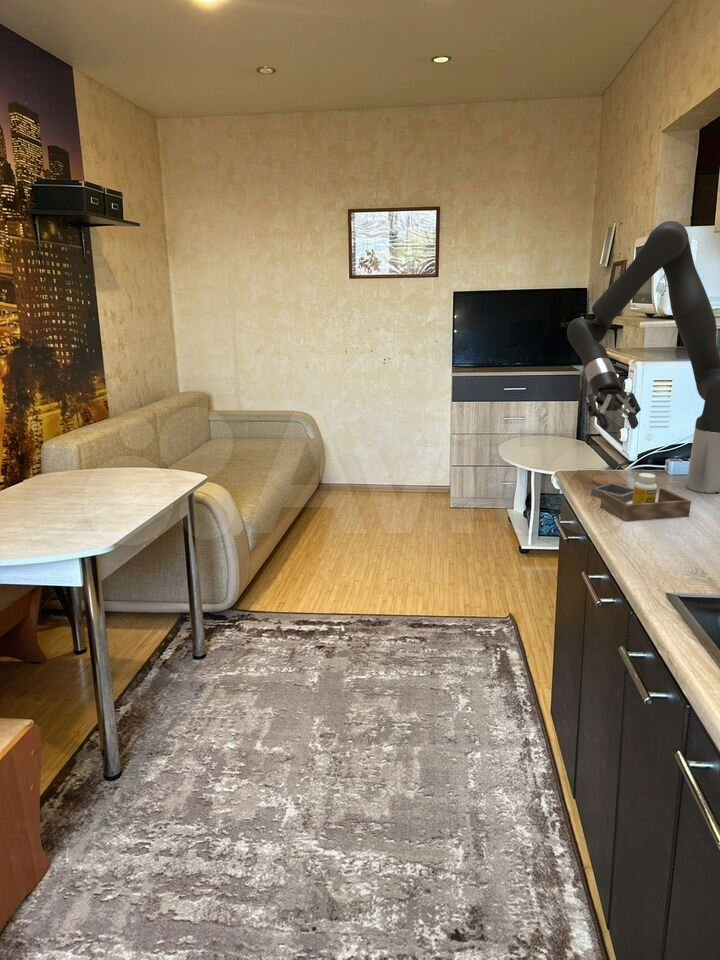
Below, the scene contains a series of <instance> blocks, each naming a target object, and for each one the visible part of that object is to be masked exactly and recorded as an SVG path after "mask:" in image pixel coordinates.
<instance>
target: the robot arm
mask: <svg viewBox="0 0 720 960" xmlns="http://www.w3.org/2000/svg"><path fill="white" fill-rule="evenodd" d="M661 269H662V270H663V272H664V275H665V278H666V281H667V282H666V283H667V289H668V298H669V303H670V309H671V314H672V317H673V320H674V322H675V325H676V328H677V331H678V333H679V336H680V338H681V341H682V344H683V346H684V348H685V351H686V354H687V355H688V358H689V360H690V365H691V369H692V373H693V376H694V377H693V378H694V381H695V382H694V383H695V386H696V390H697V394H698V395H699V396H700V398H701V399H702V400H704V404H703V409H702V413H701V414H700V416H698V417H697V418H696V421H695V426H694V431H693V438H692V443H691V444H692V445H691V453H690V457H689V464H688V465H689V466H688V472H687V477H686V483H685V484H686V485H685V487H686V488H687V489H689V490H692V491H695V492H698V493H704V492H705V493H704V494H716V493H715V492H719V493H720V354H719V350H718V345H717V343H718V342H717V340H718V339H717V333H718V331H717V329H718V328H717V321H716V316H715V313H714V310H713V308H712V304H711V302H710V300H709V297H708V294H707V291H706V290H705V287H704V284H703V281H702V279H701V277H700V275H699V273H698V271H697V267H696V265H695V261H694V257H693V254H692V249H691V244H690V239H689V234H688V231H687V229H686V228H685V226H684V225H683V224H682V223H680V222H678V221H674V220H667V221H664V222H662V223H660V224H659V225H658V226H656V227H655V228H653V230H652V231H651V232H650V233H649V234H648V236H647V239H646V241H645V243H644V244H643V245H642V247H641V249H640V251H639V252H638V254H637V255H636V257H635V258H634V259H633V261H632V262H631V263H630V264H629V266H627V268H626V269H625V270H624V271H623V272H622V273H621V274H620V275H619V276H618V277H617V278H616V279H615V280H614V281H613V282H612V283H611V285H610V286H608V288H606V290H605V291H603V293H602V294H601V296H600V297H599V298H597V300H596V301H595V302H594V303H593V305H592V307H591V312H592V314H593V315H594V316H595V318H594V319H593V320H589V319H586V318H583V317H578V318H577V317H576V318H574V319H572V320H571V321H570V322H569V324H568V326H567V329H566V335H567V340H568V342H569V343H570V345H571V346H572V348H573V349H574V351H575V352H576V354H577V355H578V356H579V358H580V360H581V362H582V365H583V368H584V371H585V375H586V379H587V382H588V385H589V388H590V390H591V393H589V394H588V395H587V396H586V397H585V399H584V402H585V406H586V409H587V412H588V415H589V417H594V418H596V419H597V421H598V423H599V426H600V428H601V429H602V430H605V431H606V430H607V429H608V428H610V423H609V420H608V417H607V415H606V414H605V412H606V411H607V412H610V411H612V412H613V411H614V412H615V411H616V412H618V413H620V414H624V415H625V416H626V417H627V421H628V424H629V426H630V429H632V430H635V429H636V428H637V427H638V426H639V420H638V418H637V415H638V414H639V412H640V411H641V410H642V409H641V407H640V404H639V402H638V400H637V398H636V396H635V394H634V392H630V393H629V394H624V393H623V392H622V384H621V382H620V379H619V377H618V375H617V372H616V370H615V367H614V365H613V363H612V362H611V360H610V357H609V354H608V352H607V350H606V347H605V346H604V345H603V344H601V341H603V340H604V338H606V337H605V336H606V335H607V333H608V330H609V329H610V327H611V325H612V323H613V321H614V320H615V318H616V317H617V316H618V315H620V313H622V311H623V310H624V309H625V308H626V307H627V305H629V303H631V301H632V300H633V299H634V297H635V296H636V294H638V293H639V291H640V289H641V288H642V287H643V286H644V285H645V284H646V283H647V281H649V280H650V279H651V278H652V277H653V276H654V275H655V274H656V273H657V272H659V271H660V270H661ZM597 404H598V405H599V407H597Z"/></svg>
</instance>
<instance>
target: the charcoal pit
mask: <svg viewBox="0 0 720 960" xmlns="http://www.w3.org/2000/svg"><path fill="white" fill-rule="evenodd" d="M602 492H606V493H608V494H610V495H612V496H614V497H616V498H618V499H619V500H621V501H623V502H625V503H627V502H630V501H631V502H632V501H633V494H634V488H632V487H628V486H621V485H617V484H613V483H608V484H605V485H601V486H599V485H597V486H596V487H592V488H591V492H590V493H591V494H590V496H593V497H595V496H596V498H598V497H599V498H600V499H601V496H602Z"/></svg>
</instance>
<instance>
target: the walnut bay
mask: <svg viewBox="0 0 720 960" xmlns="http://www.w3.org/2000/svg"><path fill="white" fill-rule="evenodd" d="M658 490H659V491H658V498H657V501H655V502H652V503H638V504H632V503H627V502H623V501H621V500H619V499H618V498H616V497H614V496H612V495H610V494H608V493H606V492H602V496H601V498H600V505H599V507H600V508H601V507H602V508H601V509H603V508H604V509H603V510H605V509H606V510H607V511H606V510H605V511H606V512H608V511H609V512H608V513H609V514H612V515H613V514H614V516H615V517H617V518H619V519H620V520H622V521H624V522H632V521H646V520H656V519H657V520H658V519H672V518H684V517H690V512H691V507H692V506H691V505H692V500H690V499H687V498H685V497H683V496H681V495H679V494H677V493H674V492H672V491H671V490H668V489H666V488H663V487H661V488H659V489H658Z"/></svg>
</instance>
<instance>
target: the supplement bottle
mask: <svg viewBox="0 0 720 960" xmlns="http://www.w3.org/2000/svg"><path fill="white" fill-rule="evenodd" d="M656 477H657V476H656V474H653V473H648V472H642V473H639V474H638V478H637V481H636V482H635V484H634V486H633V489H634V494H633V500H632V501H631V504H638V503H652V502H656V499H657V492H658V485H657V483H655V482H656Z"/></svg>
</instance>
